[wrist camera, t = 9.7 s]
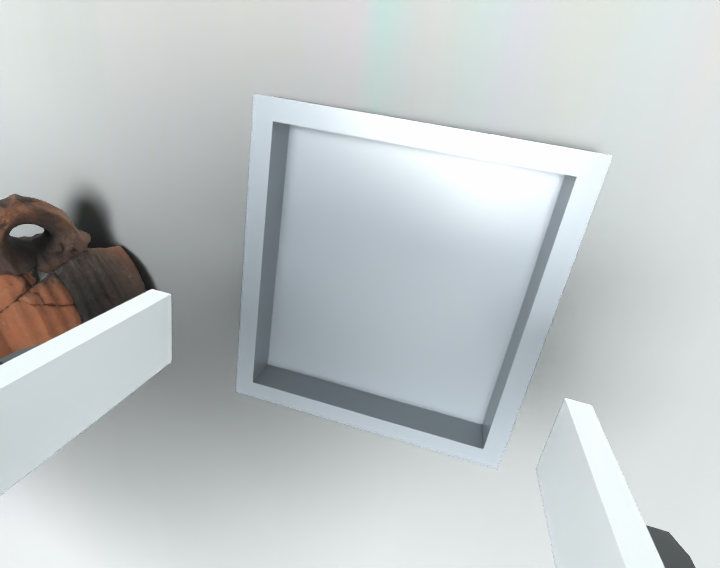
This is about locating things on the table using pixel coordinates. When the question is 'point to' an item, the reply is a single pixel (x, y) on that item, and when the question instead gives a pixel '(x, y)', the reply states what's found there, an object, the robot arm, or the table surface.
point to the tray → (404, 270)
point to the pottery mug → (55, 276)
